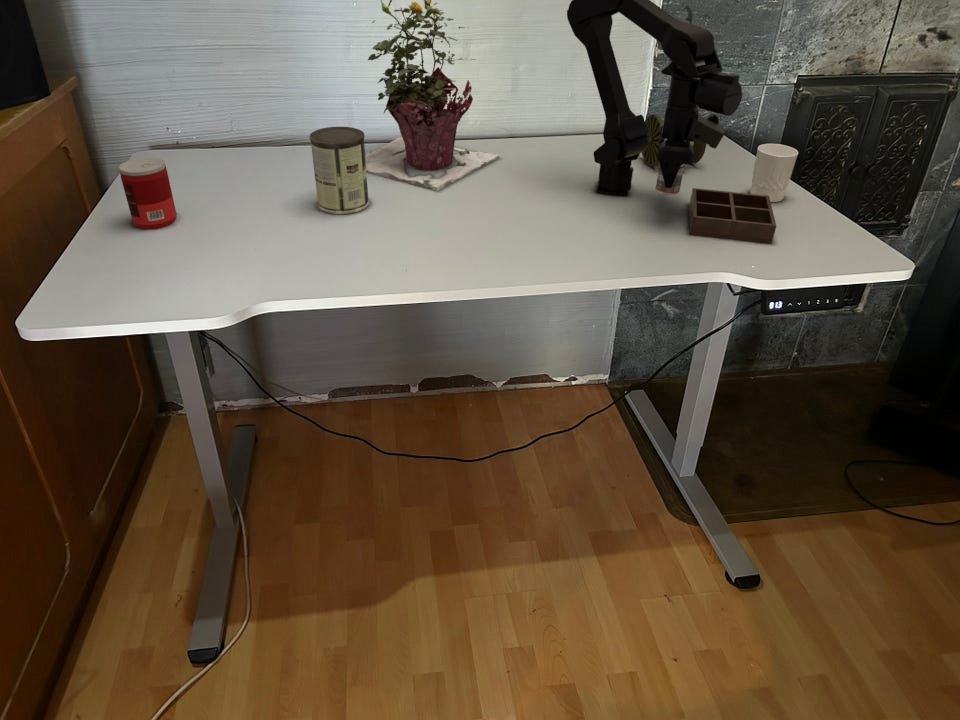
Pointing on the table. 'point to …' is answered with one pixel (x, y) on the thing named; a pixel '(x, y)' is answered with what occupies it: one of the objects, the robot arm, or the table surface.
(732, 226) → the rack
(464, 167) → the potted flower
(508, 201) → the table surface
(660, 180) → the pill bottle
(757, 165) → the white cup
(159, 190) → the canned food
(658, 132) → the cannon
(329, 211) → the coffee can
